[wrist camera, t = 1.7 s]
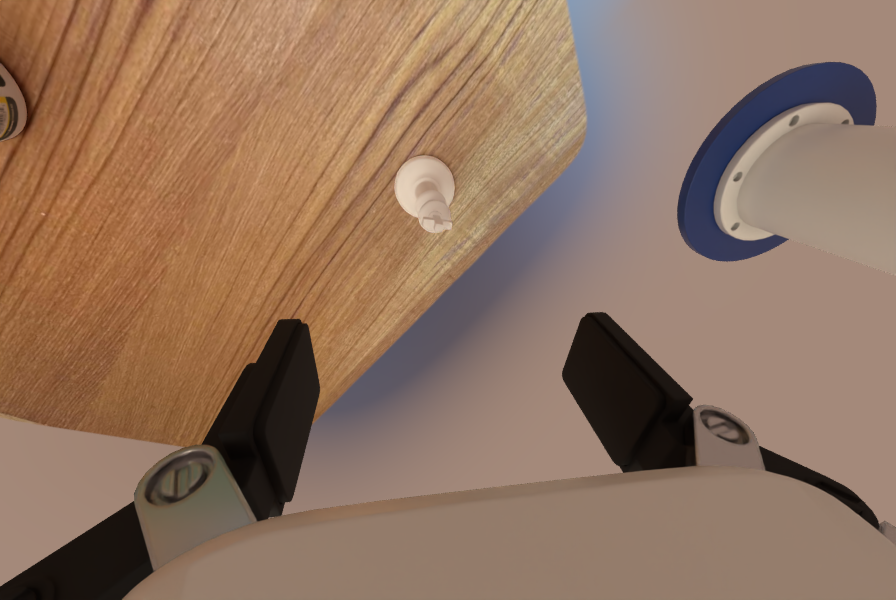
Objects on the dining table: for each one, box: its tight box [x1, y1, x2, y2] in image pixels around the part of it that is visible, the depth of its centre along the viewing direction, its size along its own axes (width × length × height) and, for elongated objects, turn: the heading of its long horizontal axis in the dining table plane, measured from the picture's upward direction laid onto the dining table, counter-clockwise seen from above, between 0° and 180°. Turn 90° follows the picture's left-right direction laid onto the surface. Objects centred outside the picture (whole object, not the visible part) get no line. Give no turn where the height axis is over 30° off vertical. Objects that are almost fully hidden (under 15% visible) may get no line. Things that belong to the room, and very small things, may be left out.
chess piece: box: [394, 155, 455, 233], centre depth 22 cm, size 5×5×10 cm
